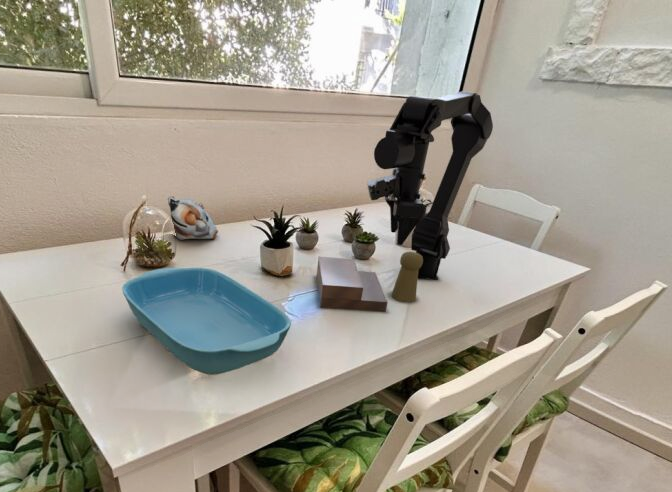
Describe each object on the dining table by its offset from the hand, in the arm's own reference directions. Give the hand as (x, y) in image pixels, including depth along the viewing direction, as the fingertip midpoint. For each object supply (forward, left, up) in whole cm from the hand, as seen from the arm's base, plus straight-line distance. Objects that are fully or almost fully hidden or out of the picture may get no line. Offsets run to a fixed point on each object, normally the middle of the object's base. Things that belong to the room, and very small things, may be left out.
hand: (396, 238), depth 107 cm
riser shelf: (+10, +3, -13) cm, 17 cm away
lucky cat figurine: (+52, -30, -13) cm, 62 cm away
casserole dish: (+41, +28, -13) cm, 51 cm away
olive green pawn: (-4, +3, -13) cm, 14 cm away
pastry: (+27, -9, -13) cm, 32 cm away
